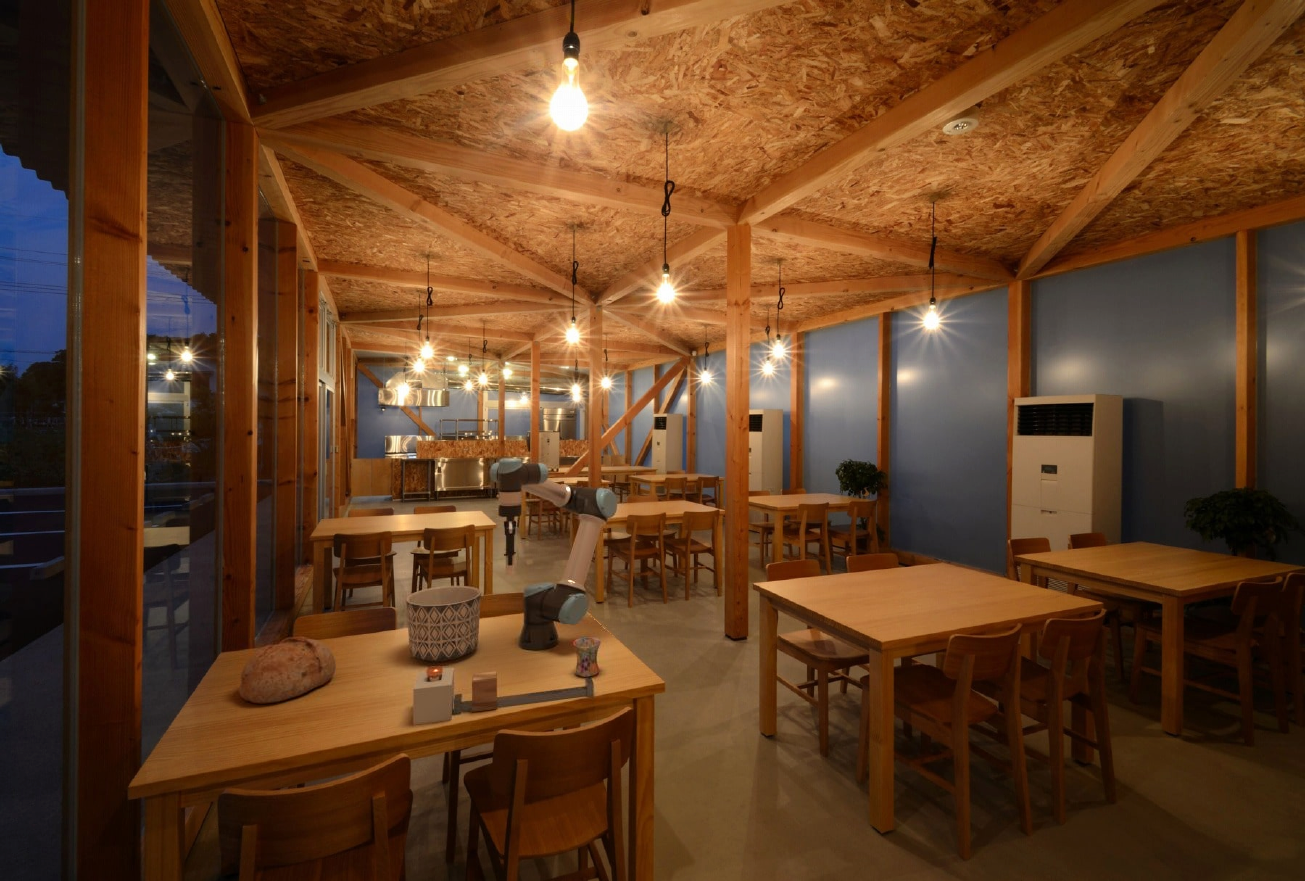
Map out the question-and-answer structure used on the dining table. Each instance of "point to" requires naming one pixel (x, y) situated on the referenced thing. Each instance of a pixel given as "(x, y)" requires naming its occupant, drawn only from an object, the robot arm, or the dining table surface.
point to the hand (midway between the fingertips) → (509, 574)
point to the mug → (586, 656)
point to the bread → (286, 670)
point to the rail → (530, 697)
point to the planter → (443, 622)
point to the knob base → (433, 698)
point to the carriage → (484, 691)
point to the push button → (434, 672)
